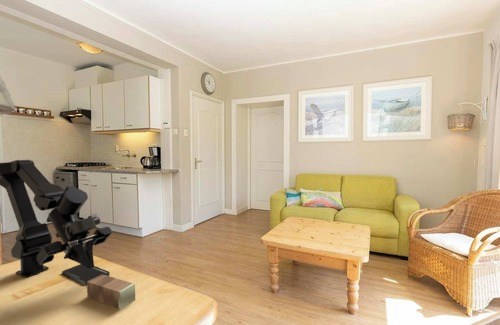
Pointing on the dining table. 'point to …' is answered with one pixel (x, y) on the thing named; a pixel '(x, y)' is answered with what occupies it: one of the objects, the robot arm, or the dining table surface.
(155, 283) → the dining table surface
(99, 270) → the phone
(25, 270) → the robot arm
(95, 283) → the walnut block
